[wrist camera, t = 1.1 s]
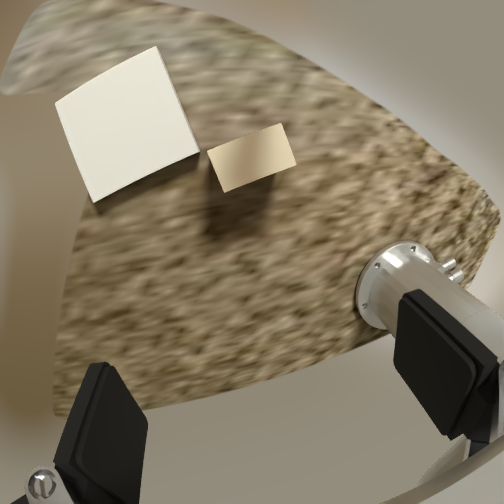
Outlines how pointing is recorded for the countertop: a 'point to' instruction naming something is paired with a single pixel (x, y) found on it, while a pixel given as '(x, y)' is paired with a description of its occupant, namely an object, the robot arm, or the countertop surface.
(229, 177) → the two-tone wooden block
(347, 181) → the countertop surface
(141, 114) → the cutting board
